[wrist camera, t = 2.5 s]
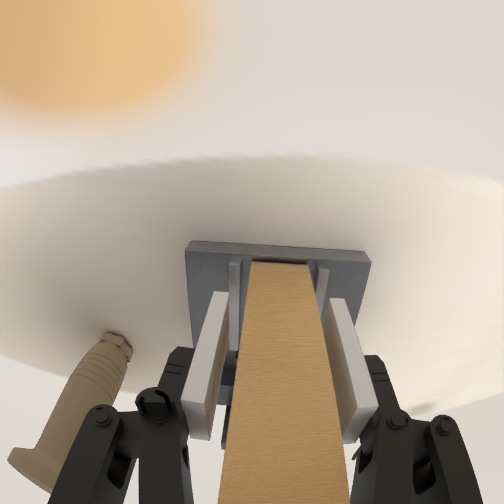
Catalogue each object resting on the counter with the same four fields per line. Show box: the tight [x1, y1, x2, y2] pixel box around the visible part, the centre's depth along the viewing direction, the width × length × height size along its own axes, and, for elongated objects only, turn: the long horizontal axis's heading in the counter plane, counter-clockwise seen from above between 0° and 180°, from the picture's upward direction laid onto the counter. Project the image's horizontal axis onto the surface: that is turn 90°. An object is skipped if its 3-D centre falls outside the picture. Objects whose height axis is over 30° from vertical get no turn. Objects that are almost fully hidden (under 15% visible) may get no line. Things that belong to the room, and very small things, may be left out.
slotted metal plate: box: [185, 241, 371, 450], centre depth 18 cm, size 11×14×6 cm
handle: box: [7, 333, 132, 494], centre depth 16 cm, size 5×6×15 cm
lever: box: [218, 261, 350, 504], centre depth 10 cm, size 4×4×15 cm
